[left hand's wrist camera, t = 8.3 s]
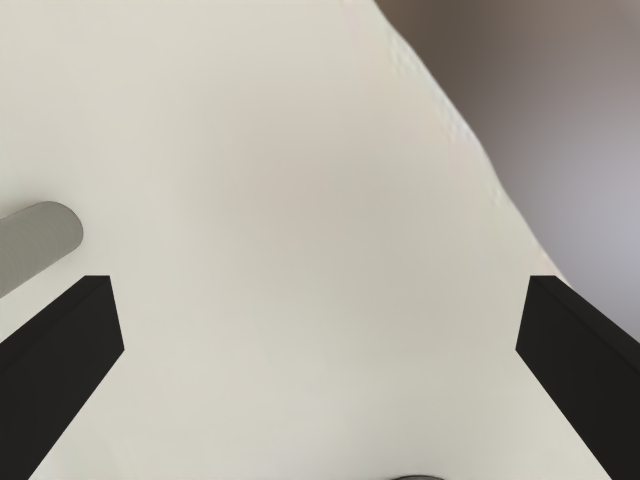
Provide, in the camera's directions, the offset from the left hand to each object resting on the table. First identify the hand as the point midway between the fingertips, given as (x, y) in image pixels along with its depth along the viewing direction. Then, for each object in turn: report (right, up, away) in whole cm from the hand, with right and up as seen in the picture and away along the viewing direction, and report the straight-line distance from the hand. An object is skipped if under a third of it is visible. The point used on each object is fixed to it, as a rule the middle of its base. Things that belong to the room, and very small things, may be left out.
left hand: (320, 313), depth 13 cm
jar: (-27, +4, +29) cm, 40 cm away
